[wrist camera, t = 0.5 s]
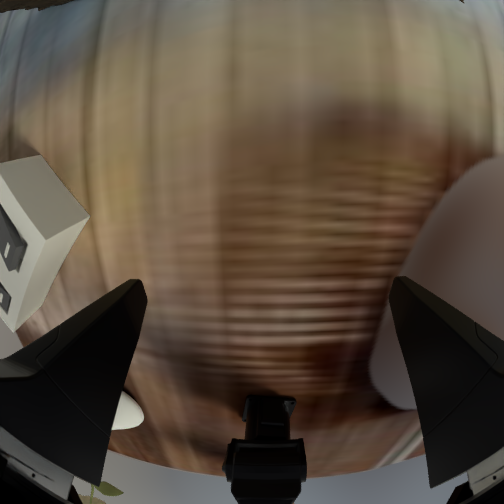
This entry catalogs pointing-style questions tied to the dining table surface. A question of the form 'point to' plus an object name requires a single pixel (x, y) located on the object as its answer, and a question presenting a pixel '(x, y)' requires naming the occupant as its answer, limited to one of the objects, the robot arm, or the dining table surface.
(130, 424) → the flower in vase
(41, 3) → the driftwood
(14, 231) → the rocker
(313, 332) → the dining table surface
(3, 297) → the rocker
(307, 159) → the dining table surface
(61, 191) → the box
